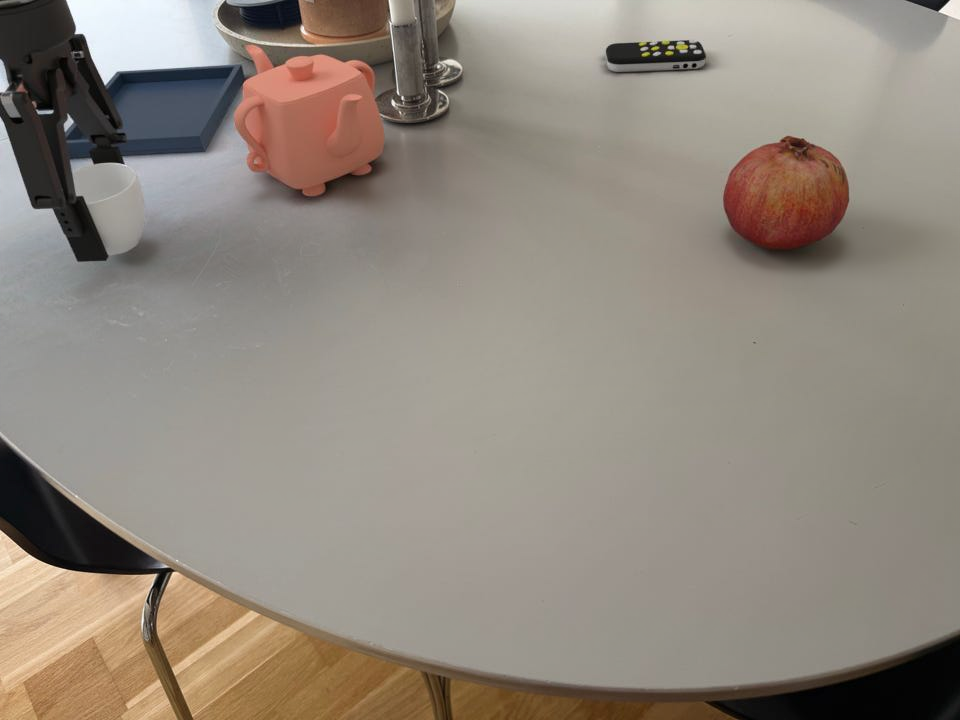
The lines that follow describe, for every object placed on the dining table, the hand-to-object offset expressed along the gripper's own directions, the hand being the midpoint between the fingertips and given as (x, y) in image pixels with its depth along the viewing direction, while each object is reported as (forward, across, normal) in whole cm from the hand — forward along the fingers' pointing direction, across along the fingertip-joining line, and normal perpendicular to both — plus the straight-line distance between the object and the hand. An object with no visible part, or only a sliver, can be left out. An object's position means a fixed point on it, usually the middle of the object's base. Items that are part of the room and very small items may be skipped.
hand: (110, 231), depth 80 cm
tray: (+3, +32, +6) cm, 33 cm away
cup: (+1, 0, 0) cm, 1 cm away
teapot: (+2, +15, -18) cm, 24 cm away
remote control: (+2, +40, -59) cm, 72 cm away
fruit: (+2, -3, -64) cm, 64 cm away
